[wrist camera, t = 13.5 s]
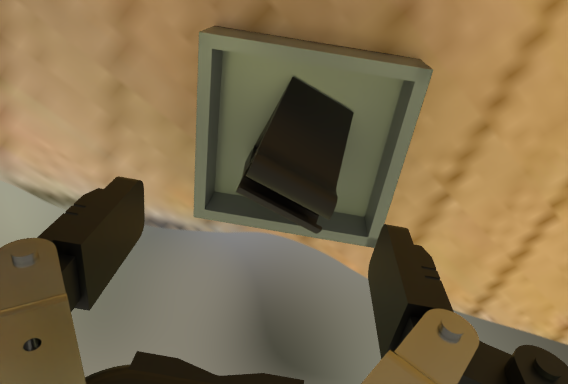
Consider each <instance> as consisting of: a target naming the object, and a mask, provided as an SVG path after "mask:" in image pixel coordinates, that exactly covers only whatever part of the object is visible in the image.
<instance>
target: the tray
mask: <svg viewBox="0 0 568 384" xmlns="http://www.w3.org/2000/svg"><path fill="white" fill-rule="evenodd" d="M432 72H433V69H431V68H430V67H429V66H428V65H426V64H425V63H424V62H423V61H422V60H420V59H416V58H410V57H404V56H398V55H392V54H385V53H379V52H373V51H367V50H361V49H355V48H348V47H342V46H336V45H330V44H324V43H318V42H311V41H305V40H299V39H293V38H287V37H281V36H274V35H268V34H262V33H256V32H250V31H244V30H237V29H231V28H225V27H219V26H213V27H210V28H208V29H205V30H203V31H200V32H199V51H198V85H197V118H196V152H195V186H194V217H197V218H203V219H208V220H214V221H220V222H226V223H232V224H238V225H244V226H249V227H255V228H261V229H267V230H273V231H279V232H285V233H290V234H296V235H302V236H308V237H314V238H320V239H326V240H331V241H337V242H343V243H349V244H355V245H361V246H367V247H372V248H375V245H376V243H377V240H378V237H379V234H380V231H381V228H382V227H383V225H384V223H385V219H386V216H387V213H388V210H389V207H390V204H391V201H392V198H393V194H394V191H395V188H396V185H397V182H398V179H399V176H400V172H401V169H402V166H403V163H404V160H405V157H406V154H407V151H408V147H409V144H410V141H411V138H412V135H413V132H414V129H415V125H416V122H417V119H418V116H419V113H420V110H421V107H422V103H423V100H424V97H425V94H426V91H427V88H428V85H429V82H430V78H431V75H432ZM292 77H294V78H296V79H298V80H300V81H301V82H303V83H305V84H306V85H308V86H310V87H311V88H313V89H315V90H317V91H318V92H320V93H322V94H323V95H325V96H327V97H328V98H330V99H332V100H334V101H335V102H337V103H339V104H340V105H342V106H344V107H345V108H347V109H349V110H351V111H352V112H354V114H353V118H352V122H351V126H350V131H349V135H348V139H347V144H346V148H345V152H344V156H343V161H342V165H341V169H340V173H339V178H338V182H337V188H336V192H337V196H338V200H337V204H336V207H335V210H334V212H333V214H332V216H331V218H330V220H328V219H326V218H324V217H322V216H320V215H319V217H318V220H317V223H316V224H317V225H319V226H321V227H322V231H321V232H319V233H318V234H315V233H313V232H311V231H309V230H308V229H306V228H304V227H302V226H300V225H298V224H296V223H294V222H292V221H290V220H288V219H286V218H284V217H283V216H281V215H279V214H277V213H275V212H273V211H271V210H269V209H267V208H265V207H263V206H261V205H260V204H258V203H256V202H254V201H252V200H250V199H248V198H246V197H244V196H242V195H240V194H238V193H237V192H236V190H237V188H238V185H239V183H240V181H241V179H242V175H243V171H244V166H245V162H246V160H247V158H248V156H249V154H250V152H251V151H252V149H253V147H254V145H255V143H256V142H257V140H258V138H259V136H260V134H261V133H262V131H263V129H264V127H265V125H266V124H267V122H268V120H269V118H270V116H271V115H272V113H273V111H274V109H275V107H276V106H277V104H278V102H279V100H280V98H281V97H282V95H283V93H284V91H285V89H286V88H287V86H288V84H289V82H290V80H291V79H292Z"/></svg>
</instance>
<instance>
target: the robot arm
mask: <svg viewBox="0 0 568 384" xmlns="http://www.w3.org/2000/svg"><path fill="white" fill-rule="evenodd" d="M143 228H144V186H143V182H142V181H141V180H136V179H130V178H124V177H116V178H115V179H114V180H113V181H112V182H111V183H110V184H109V185H108V186H107V187H106V188H105V189H100V188H98V189H96V190H93V191H91V192H89V193H87V194H85V195H83V196H82V197H81V198H80V199H79V200H78V201H76V202H75V203H74V206H71V207H70V208H69V209H68V210H67V211H66V213H65V214H64V213H63V214H62V215H61V216H60V217H59V218H58V219H57V220H56V221H55V222H54V223H53V224H51V225H50V226H49V227H48V228H47V229H46V230H45V231H44V232H43V233H42V234H41V235H40V236H38V237H37V238H27V239H20V240H17V241H14V242H11V243H8V244H6V245H4V246H3V247H1V248H0V384H304V380H300V379H294V378H288V377H282V376H277V375H271V374H265V373H258V374H243V375H228V376H218V375H214V374H212V373H210V372H208V371H205V370H203V369H201V368H199V367H196V366H194V365H192V364H189V363H187V362H185V361H183V360H181V359H178V358H173V357H167V356H162V355H156V354H150V353H144V352H139V351H137V353H136V354H135V357H134V359H133V361H132V363H131V365H123V366H117V367H112V368H109V369H105V370H102V371H99V372H97V373H94V374H91V375H89V376H87V377H85V376H84V372H83V367H82V362H81V357H80V353H79V348H78V343H77V339H76V334H75V329H74V325H73V320H72V315H71V311H72V310H73V309H74V308H78V309H84V310H90V309H91V308H92V306H93V305H94V303H95V302H96V300H97V299H98V298H99V296H100V295H101V293H102V291H103V290H104V289H105V287H106V286H107V285H108V283H109V282H110V280H111V279H112V277H113V276H114V274H115V273H116V272H117V270H118V268H119V267H120V266H121V264H122V263H123V261H124V260H125V259H126V257H127V256H128V254H129V253H130V251H131V250H132V248H133V247H134V246H135V244H136V243H137V241H138V240H139V238H140V236H141V234H142V231H143ZM368 280H369V286H370V292H371V298H372V304H373V311H374V317H375V323H376V329H377V335H378V341H379V348H380V353H381V360H380V362H379V363H378V364H377V365H376V366H375V368H374V369H373V370H372V371H371V372H370V374H369V375H368V376H367V377H366V379H365V380H364V381H363V382H362V383H361V384H568V366H567V365H566V364H565V363H564V362H563V361H561V360H560V359H559V358H557V357H556V356H555V355H553V354H552V353H550V352H548V351H546V350H544V349H542V348H539V347H536V346H532V345H523V346H519V347H518V348H517V349H516V350H515V351H514V353H513V354H512V355H511V354H508V353H506V352H503V351H501V350H499V349H496V348H494V347H492V346H489V345H487V344H485V343H483V342H481V341H479V337H478V334H477V332H476V331H475V329H474V328H473V326H472V325H470V323H469V322H468V321H466V320H465V319H464V318H463V317H461V316H460V315H458V314H456V313H454V312H453V309H452V307H451V304H450V302H449V299H448V297H447V294H446V292H445V289H444V287H443V284H442V282H441V281H440V277H439V274H438V272H437V271H436V267H435V264H434V262H433V259H432V257H431V256H430V255H429V254H428V253H427V252H426V251H425V249H424V248H423V247H422V246H419V245H414V244H413V241H412V238H411V236H410V233H409V230H408V229H407V228H403V227H398V226H392V225H386V224H384V225H383V227H382V228H381V231H380V234H379V237H378V240H377V243H376V245H375V248H374V251H373V254H372V257H371V260H370V264H369V270H368Z"/></svg>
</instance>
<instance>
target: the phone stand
mask: <svg viewBox="0 0 568 384" xmlns="http://www.w3.org/2000/svg"><path fill="white" fill-rule="evenodd" d="M353 114H354V112H352V111H351V110H349V109H347V108H345V107H344V106H342V105H340V104H339V103H337V102H335V101H334V100H332V99H330V98H328V97H327V96H325V95H323V94H322V93H320V92H318V91H317V90H315V89H313V88H311V87H310V86H308V85H306V84H305V83H303V82H301V81H300V80H298V79H296V78H294V77H292V79H291V80H290V82H289V84H288V86H287V88H286V89H285V91H284V93H283V95H282V97H281V98H280V100H279V102H278V104H277V106H276V107H275V109H274V111H273V113H272V115H271V116H270V118H269V120H268V122H267V124H266V125H265V127H264V129H263V131H262V133H261V134H260V136H259V138H258V140H257V142H256V143H255V145H254V147H253V149H252V151H251V152H250V154H249V156H248V158H247V160H246V162H245V166H244V171H243V175H242V179H241V181H240V183H239V185H238V188H237V190H236V192H237V193H238V194H240V195H242V196H244V197H246V198H248V199H250V200H252V201H254V202H256V203H258V204H260V205H261V206H263V207H265V208H267V209H269V210H271V211H273V212H275V213H277V214H279V215H281V216H283V217H284V218H286V219H288V220H290V221H292V222H294V223H296V224H298V225H300V226H302V227H304V228H306V229H308V230H309V231H311V232H313V233H315V234H318V233H319V232H321V231H322V227H321V226H319V225H317V224H316V223H317V220H318V217H319V215H320V216H322V217H324V218H326V219H328V220H330V218H331V216H332V214H333V212H334V210H335V207H336V204H337V200H338V196H337V192H336V188H337V182H338V178H339V173H340V169H341V165H342V161H343V156H344V152H345V148H346V144H347V139H348V135H349V131H350V126H351V122H352V118H353Z"/></svg>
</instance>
